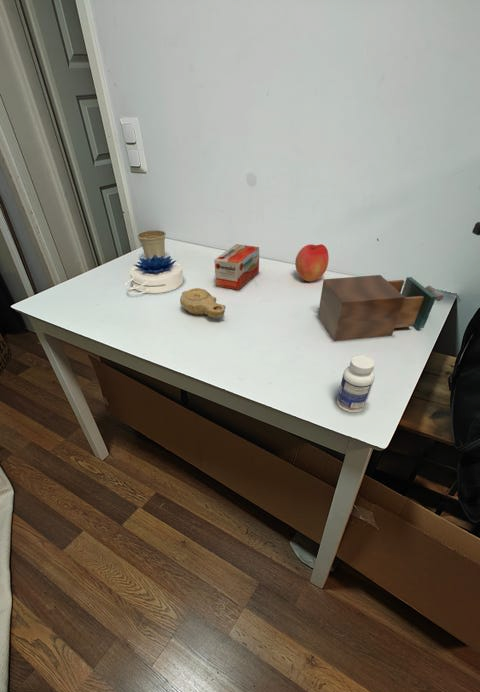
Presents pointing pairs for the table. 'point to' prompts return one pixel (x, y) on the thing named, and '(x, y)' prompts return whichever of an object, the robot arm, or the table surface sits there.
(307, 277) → the apple
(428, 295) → the drawer
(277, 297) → the table surface
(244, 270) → the medicine box
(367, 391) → the pill bottle
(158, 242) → the flower pot
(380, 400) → the table surface
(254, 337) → the table surface
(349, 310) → the cabinet
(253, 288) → the table surface
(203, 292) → the oil lamp
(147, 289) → the lotus flower trinket box
